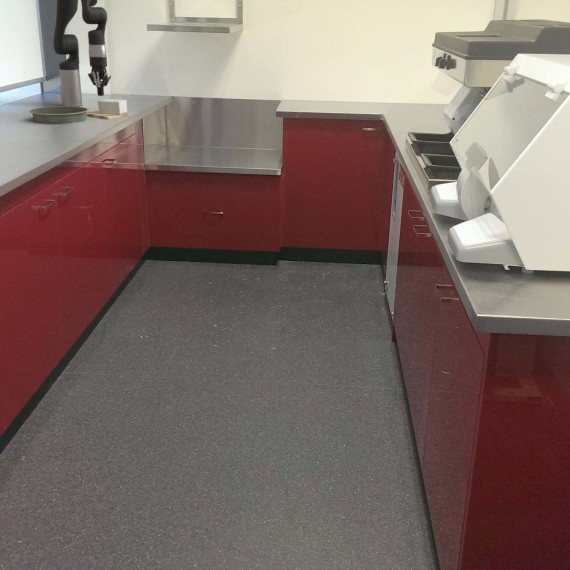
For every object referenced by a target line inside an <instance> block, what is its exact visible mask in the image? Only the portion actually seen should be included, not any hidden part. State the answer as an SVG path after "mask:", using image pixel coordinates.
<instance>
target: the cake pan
mask: <svg viewBox="0 0 570 570" xmlns="http://www.w3.org/2000/svg"><path fill="white" fill-rule="evenodd" d="M28 111H29V113H30V114H32V116H33V119H34V122H36V121H37V123H40V122H41V123H42V124H73V123H72V122H75V123H80V121H81V122H84V121H86V120H87V116H86V114H87V112H88V111H90V109H89V108H87V107H84V106H63V105H53V106H40V107H36V108H32V109H30V110H28Z"/></svg>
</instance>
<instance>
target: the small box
mask: <svg viewBox="0 0 570 570" xmlns="http://www.w3.org/2000/svg"><path fill="white" fill-rule="evenodd" d="M97 107H98V110H99V113H102V114H123V113H128V101H127V99H115V98H114V99H112V98H110V99H109V98H105V99H101V100H98V101H97Z"/></svg>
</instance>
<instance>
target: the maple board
mask: <svg viewBox="0 0 570 570" xmlns="http://www.w3.org/2000/svg"><path fill="white" fill-rule="evenodd" d="M131 116H132V115H131V113H128V112H126V113H123V114H102V113H99V109H96V110H89V111H88V112H87V114H86V117H91V118H92V117H93V118H98V119H103V120H104V119H105V120H114V119H120V118H121V119H122V118H127V117H131Z"/></svg>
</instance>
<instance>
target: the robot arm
mask: <svg viewBox="0 0 570 570" xmlns="http://www.w3.org/2000/svg"><path fill="white" fill-rule="evenodd" d="M80 2H81V17H82V20H83V22H84V23H85V24H87V25H97V26H96V28H95V29H92V30H89V31H88V33H87V39H88V40H87V41H88V59H89V60H88V61H89V66H90V68H91V72H89V73H88V74H87V76H88V78H89V80H90V81H91V83H92V85H93V86H95V87H96V91H97V92H96V93H97V96H98V97H104V95H105V89H104V88H105V87H107V85H108V84H109V82H110V80H111V79H112V76H111V74H108V72H107V67H108V57H107V48H106V38H105V37H106V36H105V34H106V26H107V21H108V13H107V11H106V9H105V8H104V7H101V6H96V5H97V4H98V0H80ZM78 6H79V0H56V13H55V14H56V15H55V16H56V17H55V18H56V20H55V27H54V34H53V43H52V44H53V50H54V52H55V54H56V55H61V56H62V55H63V56H64V55H65V56H66V55H68V58H66V60H63V61H61V62H60V63H59V65H58V67H59V68H58V69H59V77H60V85H59V89H60V99H61V106H76V107H83V96H82V85H81V75H80V48H79V40H78V37H77V36H76V35H75V34H73V33H71V34H69V33H68V34H67V33H65V32H66V30H67V26H68V25H69V24H70V23H71V21H72V19H74V17H75V15H76V13H77V11H78Z"/></svg>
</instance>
